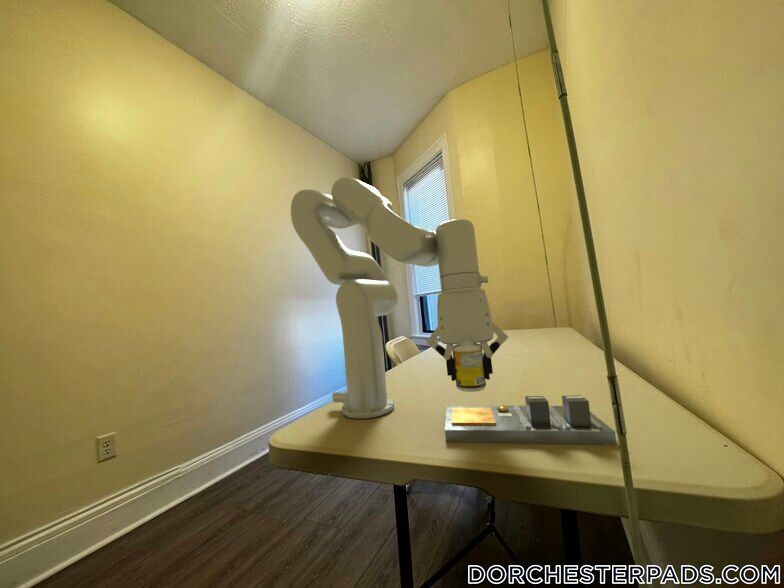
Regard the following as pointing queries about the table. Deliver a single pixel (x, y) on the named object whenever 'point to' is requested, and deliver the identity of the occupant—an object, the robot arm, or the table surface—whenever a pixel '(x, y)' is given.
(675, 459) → the table surface
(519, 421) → the panel
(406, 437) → the table surface
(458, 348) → the supplement bottle
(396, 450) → the table surface
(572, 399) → the block
